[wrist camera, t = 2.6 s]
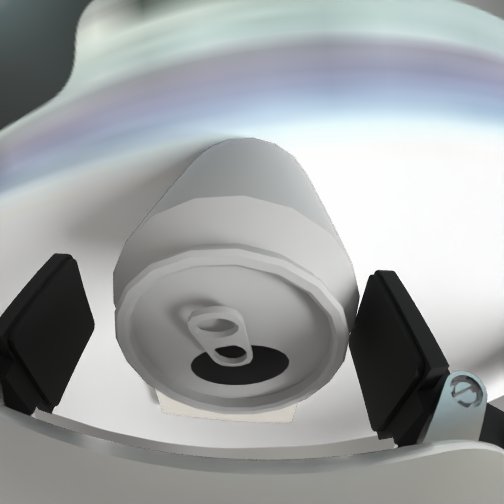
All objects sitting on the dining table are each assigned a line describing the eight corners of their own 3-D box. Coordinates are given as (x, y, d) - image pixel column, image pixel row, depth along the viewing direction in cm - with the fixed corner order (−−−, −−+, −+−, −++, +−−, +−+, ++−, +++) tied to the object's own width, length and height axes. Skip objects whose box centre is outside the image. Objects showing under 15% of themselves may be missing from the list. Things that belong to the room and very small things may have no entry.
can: (203, 263, 20) (158, 430, 10) (168, 152, 17) (41, 261, 6) (317, 243, 19) (367, 411, 9) (299, 123, 16) (377, 192, 5)
